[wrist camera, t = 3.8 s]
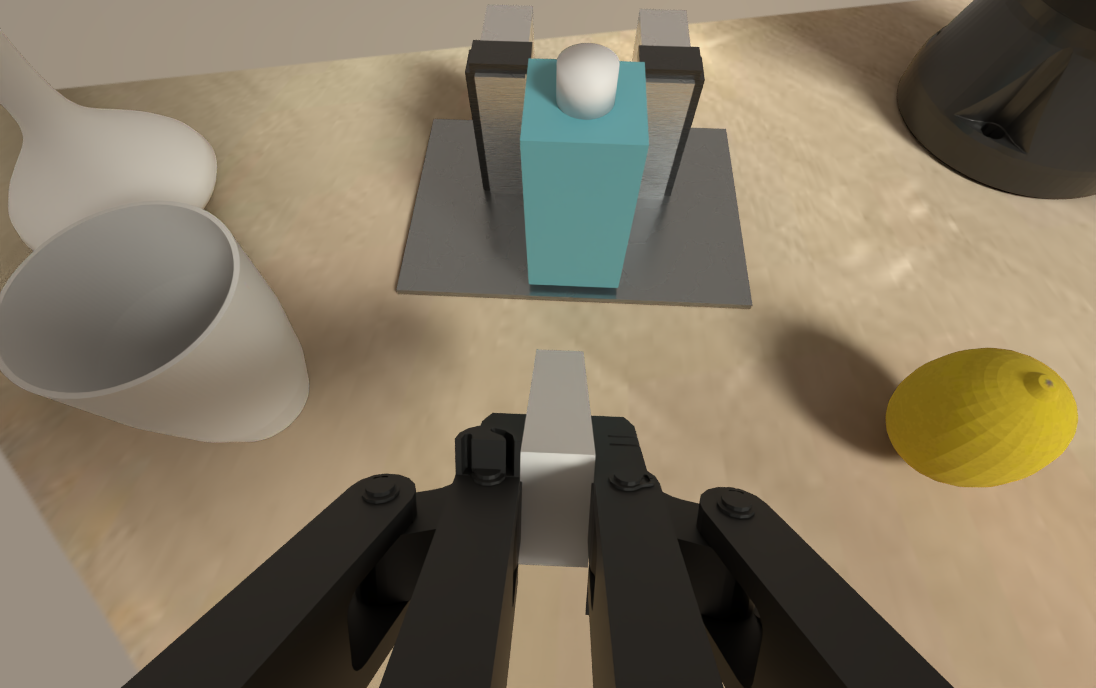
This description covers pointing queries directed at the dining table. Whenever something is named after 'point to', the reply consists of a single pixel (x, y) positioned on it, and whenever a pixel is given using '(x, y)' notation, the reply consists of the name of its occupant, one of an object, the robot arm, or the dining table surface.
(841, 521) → the dining table surface
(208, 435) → the cup
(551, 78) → the teal post
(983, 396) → the lemon
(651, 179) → the steel clamp
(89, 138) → the flower in vase
